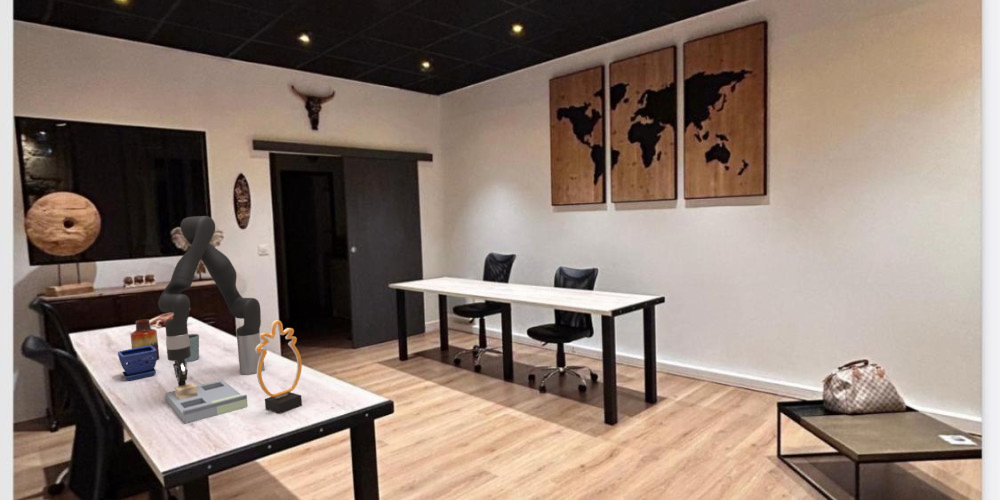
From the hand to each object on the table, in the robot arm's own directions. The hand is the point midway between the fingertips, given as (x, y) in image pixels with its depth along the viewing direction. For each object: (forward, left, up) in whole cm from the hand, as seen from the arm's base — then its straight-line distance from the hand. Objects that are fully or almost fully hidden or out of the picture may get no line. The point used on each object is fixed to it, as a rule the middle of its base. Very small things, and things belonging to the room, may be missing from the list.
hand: (182, 390), depth 199 cm
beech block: (0, +5, -1) cm, 5 cm away
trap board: (-5, +11, -4) cm, 13 cm away
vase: (0, -81, -4) cm, 81 cm away
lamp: (-24, +38, -4) cm, 45 cm away
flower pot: (+7, -52, -4) cm, 53 cm away
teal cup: (-15, -64, -4) cm, 66 cm away
